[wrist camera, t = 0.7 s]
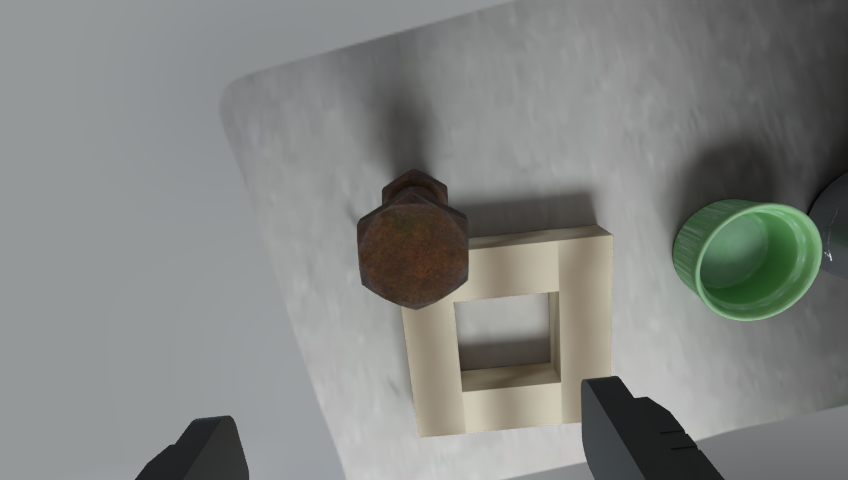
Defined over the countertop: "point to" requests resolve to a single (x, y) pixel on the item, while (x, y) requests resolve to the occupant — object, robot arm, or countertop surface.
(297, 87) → the countertop surface
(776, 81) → the countertop surface
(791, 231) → the ramekin
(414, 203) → the bolt
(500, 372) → the frame
